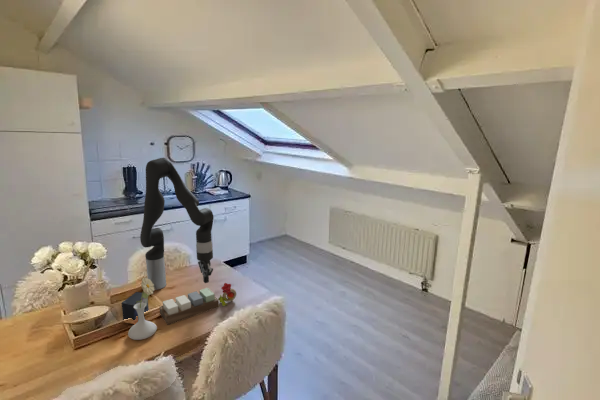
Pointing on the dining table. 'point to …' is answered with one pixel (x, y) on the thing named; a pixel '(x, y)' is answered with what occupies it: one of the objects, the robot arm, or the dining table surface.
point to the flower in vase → (142, 326)
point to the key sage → (207, 295)
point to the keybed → (188, 311)
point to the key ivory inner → (183, 302)
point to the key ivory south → (170, 307)
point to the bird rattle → (229, 292)
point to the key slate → (195, 298)
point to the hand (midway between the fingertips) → (206, 282)
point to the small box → (129, 304)
